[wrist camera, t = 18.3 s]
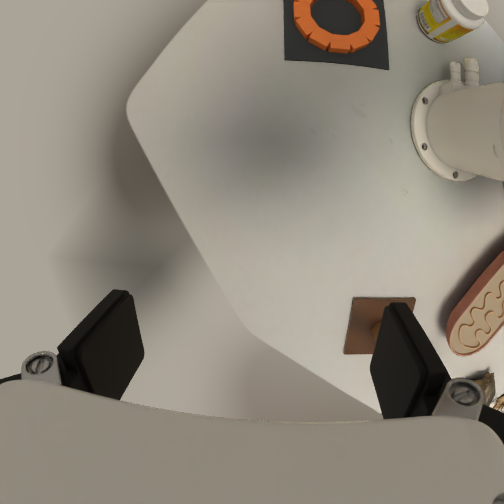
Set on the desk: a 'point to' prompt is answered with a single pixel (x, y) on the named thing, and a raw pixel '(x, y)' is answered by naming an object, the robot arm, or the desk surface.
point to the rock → (487, 387)
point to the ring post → (367, 323)
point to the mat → (341, 23)
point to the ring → (334, 41)
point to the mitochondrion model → (478, 312)
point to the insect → (499, 403)
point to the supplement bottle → (451, 18)
